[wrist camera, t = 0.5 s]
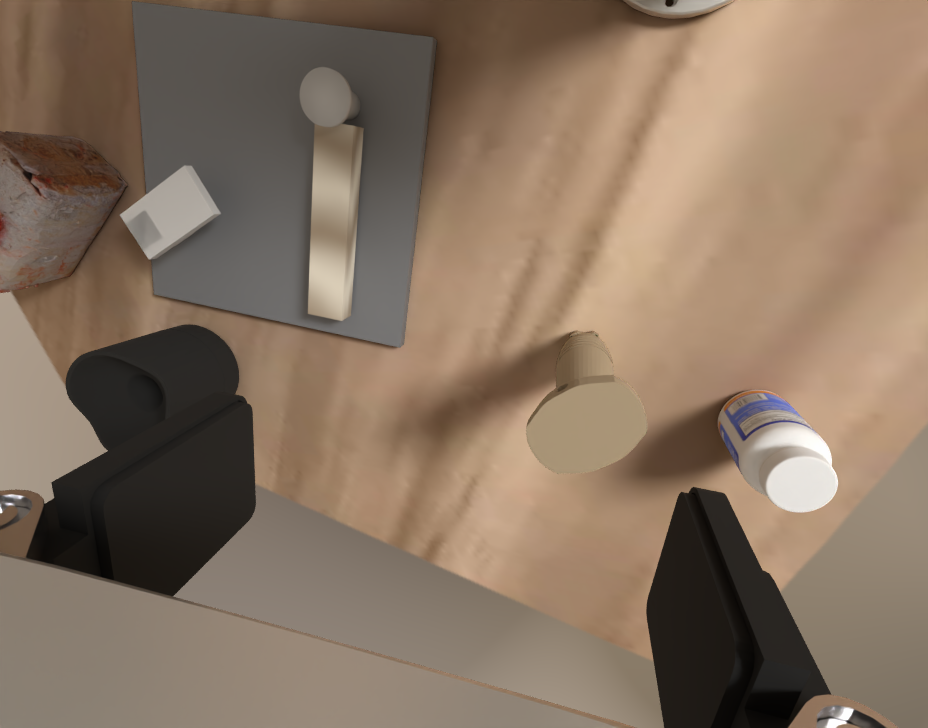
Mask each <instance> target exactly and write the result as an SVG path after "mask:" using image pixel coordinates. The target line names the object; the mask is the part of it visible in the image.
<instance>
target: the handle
mask: <svg viewBox="0 0 928 728" xmlns="http://www.w3.org/2000/svg"><path fill="white" fill-rule="evenodd" d="M646 433H647V417H646V413H645V410H644V407H643V404H642V402H641V400H640V398H639V396H638V395H637V393H636V392H635V391H634V389H633V388H632V387H631V386H630V385H629V384H628V383H627V382H625V381H624V380H622V379H620V378H619V377H616V376H614V369H613V362H612V358H611V355H610V352H609V350H608V348H607V347H606V345H605V344H604V342H603V341H602V340H601V339H599V335H598V334H597V333H596V332H594V331H591V332H586V333H584V332H579V331H575V332H573V333H572V334H571V335H570V336H569V339H568V340H567V342H566V343H565V344H564V345H563V347H562V349H561V351H560V354H559V356H558V360H557V365H556V388H555V389H554V390H553V391H552V392H550V393H549V394H548V395H547V396H546V397H545V398H544V399H543V400H542V402H541V403H540V404H539V405H538V407H537V408H536V409H535V411H534V412H533V414H532V415H531V417H530V418H529V420H528V423H527V427H526V435H527V441H528V444H529V447H530V449H531V450H532V452H533V454H534V455H535V457H536V458H537V459H538V461H539V462H540V463H541V464H543V465H544V466H545V467H546V468H548V469H549V470H551V471H553V472H555V473H557V474H574V473H587V472H593V471H596V470H598V469H601V468H603V467H605V466H608V465H610V464H612V463H614V462H617V461H618V460H620V459H622V458H623V457H625V456H626V455H627V454H628V453H629V452H630V451H631V450H632V449H633V448H634V447H635V446H636V445H637V444H638V442H639V441H640V440H641V439H642V438H643V436H644V435H645V434H646Z"/></svg>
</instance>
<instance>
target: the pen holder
mask: <svg viewBox="0 0 928 728" xmlns="http://www.w3.org/2000/svg"><path fill="white" fill-rule="evenodd" d="M238 383H239V370H238V365H237V362H236V359H235V357H234V355H233V353H232V351H231V349H230V348H229V347H228V345H227V344H226V343H225V342H224V341H223V340H222V339H221V338H220V337H219V336H218V335H216V334H215V333H213V332H212V331H210V330H208V329H206V328H204V327H201V326H197V325H181V326H177V327H173V328H169V329H166V330H162V331H158V332H155V333H151V334H148V335H145V336H141V337H138V338H135V339H131V340H128V341H125V342H121V343H118V344H115V345H111V346H108V347H105V348H101V349H98V350H94V351H91V352H88V353H85V354H83V355H81V356H80V357H78V358H77V359H76V360H75V361H74V362H73V363H72V365H71V366H70V368H69V371H68V373H67V377H66V390H67V394H68V396H69V398H70V400H71V401H72V403H73V404H74V405H75V406H76V407H77V409H78V410H79V411H80V412H81V413H82V414H83V415H84V416H85V417H86V418H87V419H88V421H89V422H90V423H91V425H92V427H93V428H94V431H95V432H96V434H97V436H98V438H99V440H100V442H101V443H102V445H103V446H104V447H105V448H106V449H107V450H108V451H109V450H111V449H113V448H115V447H117V446H118V445H120V444H122V443H124V442H126V441H127V440H129V439H131V438H133V437H135V436H137V435H138V434H140V433H142V432H144V431H146V430H147V429H149V428H151V427H153V426H155V425H156V424H158V423H160V422H162V421H164V420H166V419H167V418H169V417H171V416H173V415H175V414H176V413H178V412H180V411H182V410H184V409H185V408H187V407H189V406H191V405H193V404H195V403H196V402H198V401H200V400H202V399H204V398H205V397H207V396H209V395H211V394H213V393H215V392H218V391H219V392H225V393H230V394H235V393H236V390H237V387H238Z"/></svg>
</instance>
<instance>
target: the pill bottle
mask: <svg viewBox="0 0 928 728" xmlns="http://www.w3.org/2000/svg"><path fill="white" fill-rule="evenodd" d="M718 429H719V432H720V435H721V437H722V439H723V441H724V443H725V445H726V447H727V448H728V450H729V452H730V454H731V456H732V457H733V459H734V461H735V463H736V465H737V467H738V468H739V470H740V472H741V474H742V475H743V477H744V479H745V480H746V481H747V483H748V484H749V485H750V486H751V487H752V488H754V489H755V490H756V491H758V492H760V493H762V494H764V495H766V496H768V498H769V499H770V500H771V501H772V502H773V503H774V504H775V505H776V506H778V507H780V508H781V509H784V510H787V511H791V512H809V511H813V510H816V509H818V508H821V507H822V506H824V505H826V504H827V503H828V502H829V501H830V500H831V499H832V498H833V496H834V495H835V493H836V491H837V487H838V479H837V476H836V473H835V471H834V470H833V468H832V467H831V466H832V458H831V453H830V450H829V448H828V446H827V444H826V443H825V442H824V440H823V439H822V438H821V437H820V436H819V435H818V434H817V433H816V432H815V431H814V429H813V428H812V427H811V426H810V425H809V424H808V423H807V422H806V421H805V420H804V419H803V418H802V417H801V416H800V415H799V414H798V413H797V412H796V411H795V410H794V409H793V408H792V407H791V405H790V404H789V403H788V402H787V401H786V400H784V399H783V398H782V397H780V396H779V395H777V394H775V393H772V392H770V391H766V390H749V391H745V392H742V393H739V394H737V395H736V396H734V397H732V398H731V399H730V400H729V401H728V402H727V403H726V404H725V405H724V406H723V408H722V410H721V411H720V414H719V417H718Z"/></svg>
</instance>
